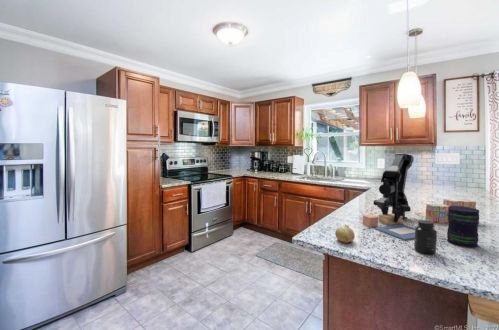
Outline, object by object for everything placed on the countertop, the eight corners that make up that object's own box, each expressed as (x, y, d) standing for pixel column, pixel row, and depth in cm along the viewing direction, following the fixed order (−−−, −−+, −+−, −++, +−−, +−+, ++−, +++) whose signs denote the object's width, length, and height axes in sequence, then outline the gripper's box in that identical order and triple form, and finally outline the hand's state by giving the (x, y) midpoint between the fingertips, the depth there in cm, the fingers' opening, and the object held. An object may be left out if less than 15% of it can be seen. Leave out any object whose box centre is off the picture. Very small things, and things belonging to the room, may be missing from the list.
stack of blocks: (432, 223, 128) (433, 200, 127) (425, 219, 134) (426, 198, 133) (475, 223, 126) (476, 201, 125) (465, 220, 132) (466, 198, 131)
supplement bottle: (409, 248, 94) (410, 219, 94) (425, 247, 95) (426, 218, 94) (424, 256, 87) (425, 224, 87) (440, 255, 88) (442, 223, 87)
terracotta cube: (370, 223, 128) (370, 214, 127) (377, 226, 123) (377, 216, 122) (362, 224, 126) (363, 215, 126) (370, 227, 121) (370, 217, 121)
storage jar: (471, 250, 92) (473, 212, 92) (442, 241, 101) (443, 207, 100) (482, 245, 97) (484, 209, 96) (453, 237, 106) (454, 205, 105)
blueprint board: (401, 225, 123) (401, 223, 123) (433, 235, 108) (433, 234, 108) (374, 229, 118) (374, 227, 118) (404, 240, 103) (404, 238, 102)
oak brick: (393, 220, 133) (393, 213, 132) (402, 223, 127) (402, 216, 127) (378, 221, 130) (378, 214, 130) (387, 225, 124) (387, 217, 124)
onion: (356, 245, 98) (357, 228, 98) (337, 244, 99) (337, 227, 99) (351, 238, 106) (352, 223, 106) (333, 237, 107) (333, 222, 107)
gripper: (366, 190, 134) (365, 217, 135) (395, 196, 116) (394, 227, 117) (381, 189, 137) (380, 215, 138) (411, 195, 120) (410, 225, 121)
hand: (390, 220), depth 129 cm, fingers closed on oak brick, 6 cm apart
